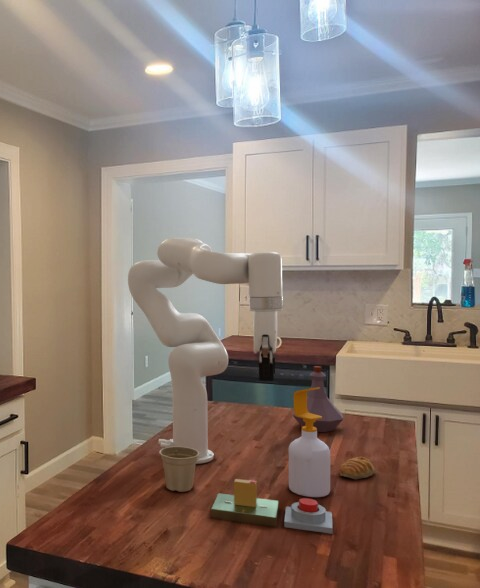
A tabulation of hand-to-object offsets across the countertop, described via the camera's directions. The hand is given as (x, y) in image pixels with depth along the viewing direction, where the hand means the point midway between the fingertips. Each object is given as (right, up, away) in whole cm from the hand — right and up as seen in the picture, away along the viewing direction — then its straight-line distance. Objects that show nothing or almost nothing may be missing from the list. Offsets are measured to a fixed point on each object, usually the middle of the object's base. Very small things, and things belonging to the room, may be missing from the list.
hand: (267, 376), depth 136 cm
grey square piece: (+3, -27, -18) cm, 33 cm away
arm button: (+3, -25, -18) cm, 31 cm away
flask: (+32, -24, +51) cm, 65 cm away
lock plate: (-9, -27, -13) cm, 32 cm away
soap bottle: (+9, -27, -1) cm, 28 cm away
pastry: (+25, -26, +9) cm, 37 cm away
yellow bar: (-9, -25, -13) cm, 30 cm away
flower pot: (-20, -27, +2) cm, 34 cm away
